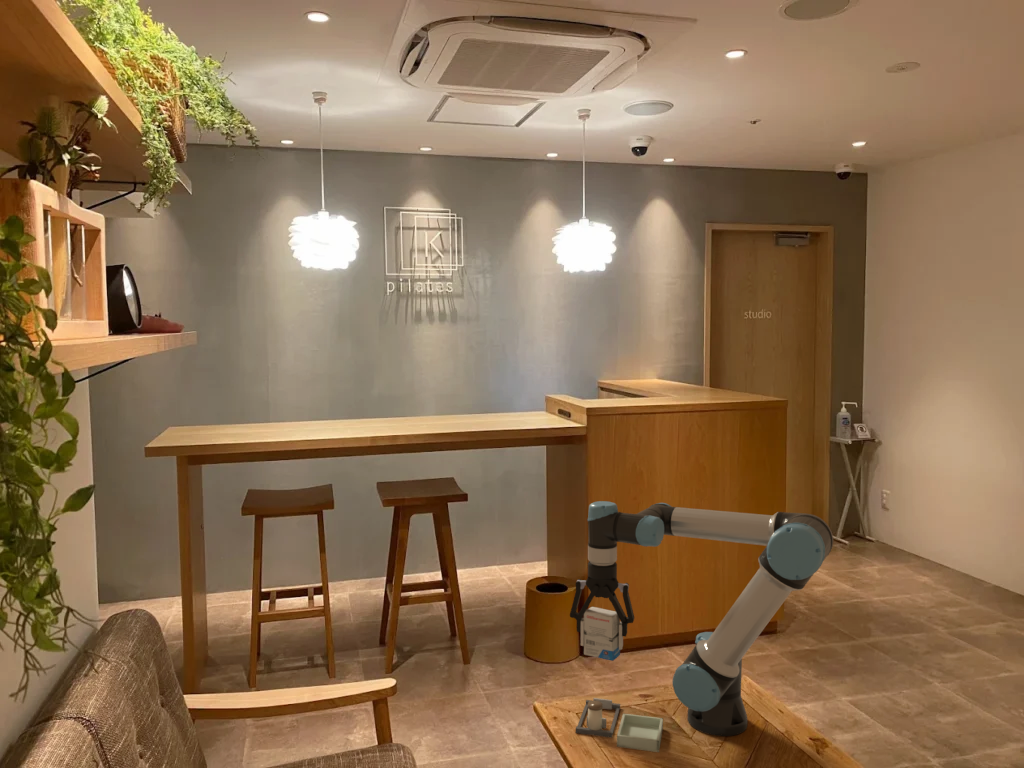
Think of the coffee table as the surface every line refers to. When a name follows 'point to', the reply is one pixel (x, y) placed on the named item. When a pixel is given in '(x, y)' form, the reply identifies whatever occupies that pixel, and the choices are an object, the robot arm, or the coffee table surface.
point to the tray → (640, 732)
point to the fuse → (595, 715)
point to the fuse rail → (605, 733)
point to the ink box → (601, 633)
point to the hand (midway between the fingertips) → (601, 645)
